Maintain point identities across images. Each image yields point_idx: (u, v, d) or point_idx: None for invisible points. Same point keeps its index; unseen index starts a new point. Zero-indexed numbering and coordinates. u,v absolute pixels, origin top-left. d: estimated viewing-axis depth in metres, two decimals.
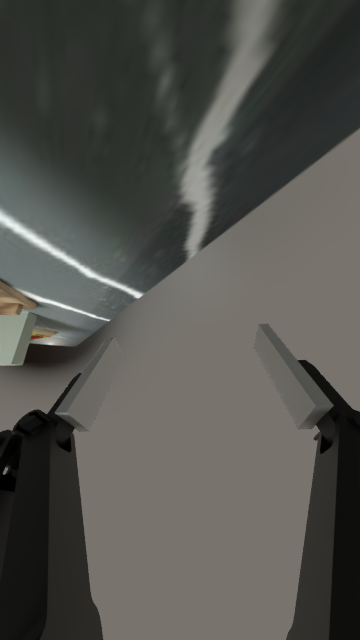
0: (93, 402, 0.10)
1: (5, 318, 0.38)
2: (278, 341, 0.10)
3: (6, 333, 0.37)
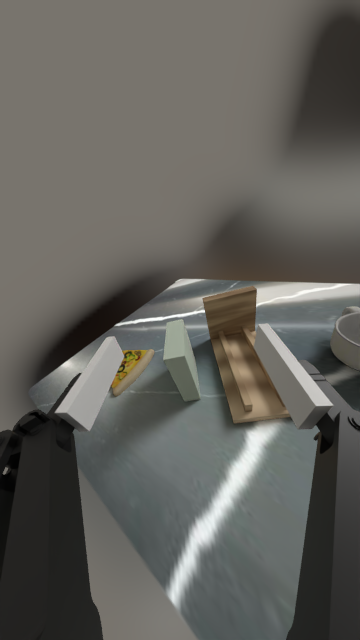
0: (93, 402, 0.10)
1: (196, 373, 0.33)
2: (278, 341, 0.10)
3: (193, 368, 0.29)
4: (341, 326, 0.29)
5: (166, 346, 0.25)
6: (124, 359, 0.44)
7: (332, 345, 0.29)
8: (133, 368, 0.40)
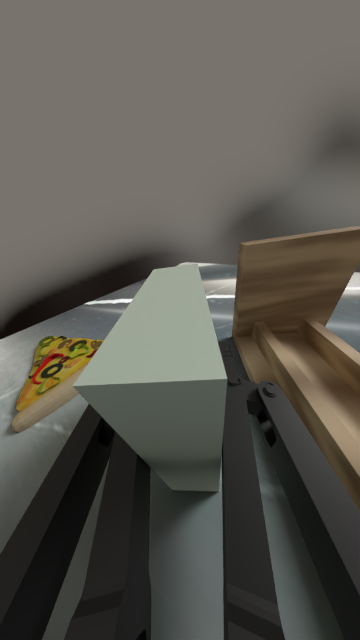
0: None
1: None
2: None
3: None
4: None
5: (127, 317, 0.06)
6: (68, 353, 0.24)
7: None
8: (76, 372, 0.20)
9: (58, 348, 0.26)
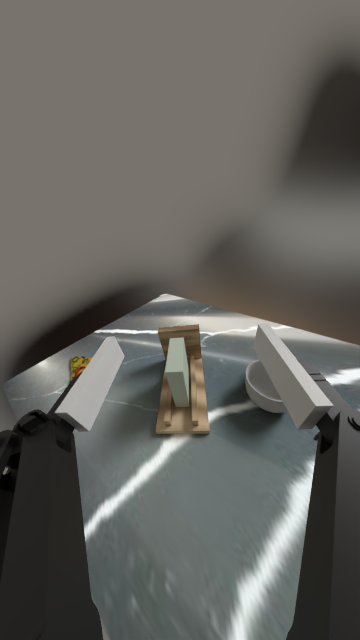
0: (93, 402, 0.10)
1: (188, 384, 0.38)
2: (278, 341, 0.10)
3: None
4: (254, 367, 0.38)
5: (168, 360, 0.31)
6: None
7: (245, 381, 0.37)
8: None
9: (82, 363, 0.53)
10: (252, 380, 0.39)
